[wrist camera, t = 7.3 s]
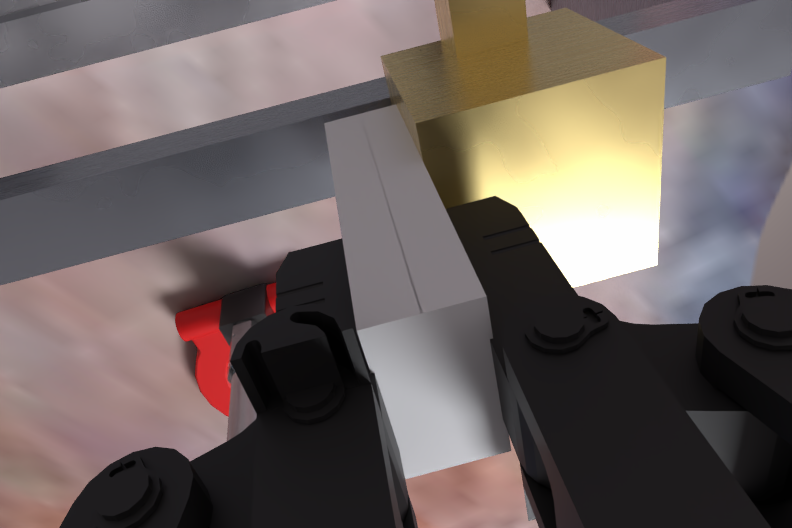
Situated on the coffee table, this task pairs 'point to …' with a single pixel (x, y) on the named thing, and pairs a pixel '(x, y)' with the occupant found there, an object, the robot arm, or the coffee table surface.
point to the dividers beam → (307, 144)
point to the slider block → (542, 127)
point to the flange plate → (112, 29)
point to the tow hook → (225, 348)
